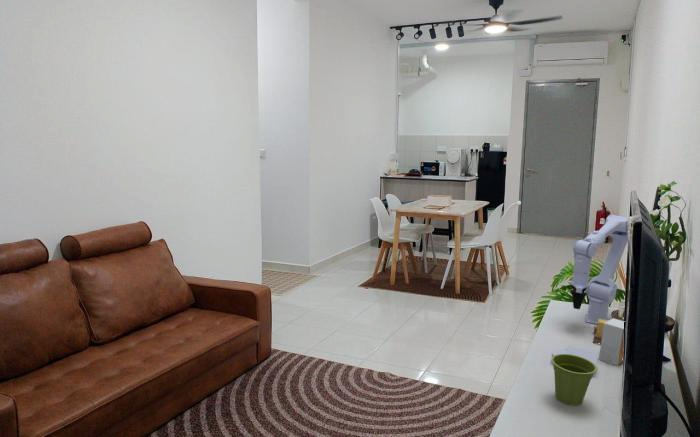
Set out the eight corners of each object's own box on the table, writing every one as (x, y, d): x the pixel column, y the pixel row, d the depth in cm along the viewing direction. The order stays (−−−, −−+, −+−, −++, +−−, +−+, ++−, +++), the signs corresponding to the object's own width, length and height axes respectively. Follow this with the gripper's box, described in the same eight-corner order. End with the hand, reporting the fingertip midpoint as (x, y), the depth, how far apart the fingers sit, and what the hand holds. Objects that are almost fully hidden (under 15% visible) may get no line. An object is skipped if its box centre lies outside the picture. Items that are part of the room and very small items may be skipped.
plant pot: (540, 399, 147) (545, 362, 145) (555, 385, 156) (560, 350, 154) (583, 416, 140) (589, 377, 138) (597, 400, 149) (602, 363, 147)
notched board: (593, 332, 199) (594, 326, 199) (615, 336, 196) (616, 330, 196) (593, 342, 189) (594, 336, 189) (616, 347, 186) (617, 340, 186)
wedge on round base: (594, 365, 171) (552, 356, 176) (597, 346, 170) (554, 337, 175) (593, 377, 163) (549, 366, 168) (596, 357, 161) (552, 347, 167)
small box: (617, 366, 171) (623, 329, 169) (598, 359, 176) (603, 323, 173) (626, 359, 177) (632, 323, 174) (607, 353, 181) (612, 317, 179)
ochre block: (595, 336, 196) (598, 318, 194) (607, 338, 194) (610, 320, 193) (595, 339, 192) (598, 322, 191) (607, 342, 190) (610, 324, 189)
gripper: (571, 265, 206) (566, 298, 208) (569, 274, 193) (564, 309, 195) (590, 268, 203) (585, 301, 205) (590, 277, 190) (585, 313, 193)
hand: (576, 305), depth 200 cm, fingers open, 7 cm apart
